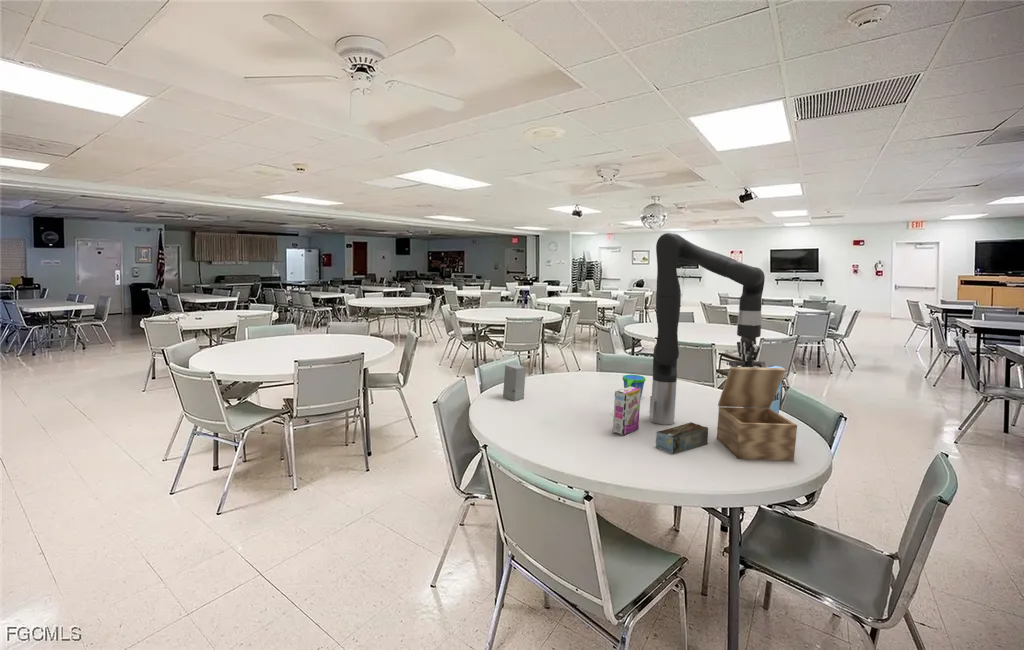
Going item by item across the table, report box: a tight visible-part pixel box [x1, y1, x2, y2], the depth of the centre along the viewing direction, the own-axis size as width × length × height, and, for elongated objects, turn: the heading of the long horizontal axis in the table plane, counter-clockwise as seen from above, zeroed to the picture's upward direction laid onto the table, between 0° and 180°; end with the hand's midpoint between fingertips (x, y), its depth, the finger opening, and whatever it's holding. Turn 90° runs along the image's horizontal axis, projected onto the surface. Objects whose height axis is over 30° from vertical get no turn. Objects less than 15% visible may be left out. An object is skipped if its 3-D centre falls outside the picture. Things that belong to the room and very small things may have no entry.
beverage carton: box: [655, 421, 709, 455], centre depth 163 cm, size 8×19×7 cm, turn 121°
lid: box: [717, 360, 786, 408], centre depth 166 cm, size 18×18×9 cm
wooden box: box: [716, 406, 798, 461], centre depth 160 cm, size 18×18×12 cm
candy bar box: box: [612, 386, 642, 437], centre depth 175 cm, size 11×5×16 cm, turn 134°
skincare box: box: [502, 363, 527, 402], centre depth 218 cm, size 8×7×16 cm
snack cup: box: [622, 374, 646, 399], centre depth 222 cm, size 16×10×10 cm
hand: (746, 370), depth 167 cm, fingers closed on lid, 2 cm apart
